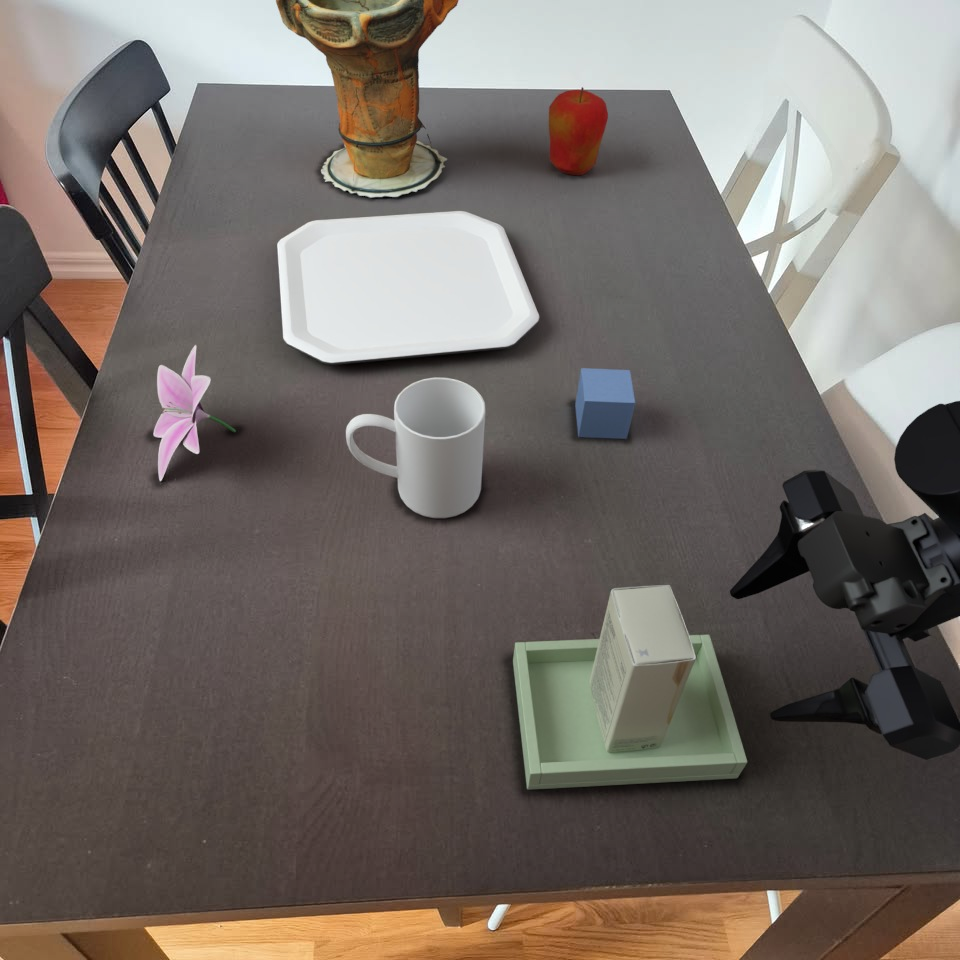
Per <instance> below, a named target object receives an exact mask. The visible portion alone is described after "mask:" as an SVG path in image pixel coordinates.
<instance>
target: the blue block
mask: <svg viewBox="0 0 960 960" xmlns="http://www.w3.org/2000/svg"><path fill="white" fill-rule="evenodd" d="M574 405H575V416H576V428H577V429H576V430H577V436H578V438H587V439H588V438H591V439H615V440H618V439H619V440H627V439H628V435H629V431H630V428H631V423H632V419H633V415H634V410H635V406H636V398H635V392H634V385H633V380H632V374H631V370H630V369H612V368H587V367H581V368H580V374H579V379H578V385H577V391H576V398H575V404H574Z"/></svg>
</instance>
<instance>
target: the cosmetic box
mask: <svg viewBox="0 0 960 960" xmlns="http://www.w3.org/2000/svg"><path fill="white" fill-rule="evenodd" d="M689 635H690V633H689V631H688V628H687V626H686V623H685V620H684V617H683V614H682V612H681V609H680V607H679V604H678V602H677V599H676V596H675V594H674V591H673V590H672V586H671V585H670V584H659V585H657V584H656V585H641V586H626V587H625V586H624V587H614V588H612V589H611V591H610V593H609V598H608V602H607V606H606V610H605V615H604V620H603V623H602V627H601V631H600V635H599V638H598V639H599V643H598V647H597V652H596V656H595V660H594V664H593V668H592V672H591V676H590V681H589V685H590V689H591V694H592V699H593V703H594V707H595V711H596V715H597V719H598V723H599V727H600V730H601V734H602V738H603V741H604V744H605V748H606V751H607V752H622V751H633V750H642V749H650V748H656V747H660V746H661V744H662V742H663V739H664V737H665V734H666V732H667V729H668V727H669V724H670V722H671V719H672V716H673V714H674V712H675V709H676V707H677V704H678V702H679V699H680V697H681V694H682V692H683V689H684V687H685V684H686V681H687V679H688V677H689V674H690V672H691V669H692V667H693V664H694V662H695V660H696V656H695V653H694V649H693V646H692V642H691V639H690V636H689Z"/></svg>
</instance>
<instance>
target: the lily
mask: <svg viewBox="0 0 960 960" xmlns="http://www.w3.org/2000/svg"><path fill="white" fill-rule="evenodd" d="M196 357H197V344H194V346H193V347H192V349H191V350H190V352H189V354H188V356H187V358H186V361H185V364H184V365H183V368H182V372H181V376H180V374H178V373H176V372H175V371H174V370H172V369H170V368H169V367H167V366H166V365H164V364H159V366H158V367H157V368H158V369H157V374H156V388H157V396H158V401H159V404H160V405H161V408H162V410H163V411H162V412H160V416H159V418H158V420H157V421H156V423H155V426H154V428H153V437H155V438H159V439H160V438H161V440H160V443H159V448H158V457H157V473H158V479H159V482H162V481H163V478H164V476H165V473H166V471H167V468H168V467H169V463H170V461H171V459H172V457H173V455H174V453H175V451H176V450H177V448H178V446H179V445H180V444H181V442H182V445H183V446H184V448H185V449H187V450H188V451H190V452H192V453H193V454H196V455H198V454H200V444H199V437H198V428H197V427H198V426H197V424H198V423H199V422H200V421H201V420H203V419H209V420H212V421H214V422H215V423H219V424H220V425H222V426H223V427H225V428H226V429H228V430H229V431H230V432H232V433H236V432H237V430H236V429H235V428H233V427H232V426H230V425H229V424H227V423H226V422H225V421H223V420H222V419H219V418H217V417H215V416H213V415H211V414H209V413H206V412H205V410H204V408H203V406H202V404H201V400H202V398H203V396H204V394H205V393H206V391H207V389H208V388H209V386H210V385H211V377H210V376H208V375H201V374H198V375H197V374H196ZM195 374H196V375H195Z"/></svg>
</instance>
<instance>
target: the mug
mask: <svg viewBox="0 0 960 960" xmlns="http://www.w3.org/2000/svg"><path fill="white" fill-rule="evenodd" d="M393 414H394V415H393V417H394V419H393V418H390V417H388V416H385V415H382V414H381V415H380V414H376V413H375V414H373V413H362V414H359V415H356V416H354V417H353V418H352V419H350V421H349V422H348V424H347V425H346V428H345V438H346V445H347V447H348V450H349V452H350V453H351V455H352V456H353V457H354V459H355V460H357V461H358V462H359V463H360V464H361V465H363V466H365V467H366V468H368V469H370V470H372V471H374V472H377V473H379V474H381V475H384V476H388V477H392V478H396V479H397V490H398V494H399V497H400V499H401V501H402V502H403V503H404V504H405V506H406V507H407V508H408V509H410V510H411V511H412V512H414V513H416V514H418V515H420V516H422V517H426V518H431V519H448V518H453V517H457V516H459V515H461V514H463V513H465V512H466V511H467V512H468V510H470V508H472V507H473V506H474V504H475V503H476V502H477V500H479V497H480V494H481V490H482V476H483V461H484V459H483V458H484V444H485V427H486V426H485V423H486V403H485V400H484V398H483V396H482V395H481V394H480V392H479V391H478V390H477V389H476V388H474V387H473V386H471V385H470V384H469V383H466V382H463V381H461V380H459V379H456V378H454V379H453V378H450V377H428V378H423V379H421V380H418V381H414V382H412V383H411V384H409V385H407V386H406V387H404V388H403V389H402V390H401V391H400V392H399V394H398V395H397V396H396V398H395V401H394V407H393ZM364 427H378V428H381V429H385V430H388V431H390V432H393V433H395V435H394V436H395V437H394V438H395V451H396V452H395V454H396V455H395V456H396V465H393V464H390V463H389V464H388V463H386V462H383V461H380V460H378V459H375V458H373V457H372V456H370V455H368V454H366V453H365V452H364V451H362V450H361V448H359V447H358V445H357V444H356V441H355V439H354V433H355V432H356V431H357V430H358V429H360V428H364Z"/></svg>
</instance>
